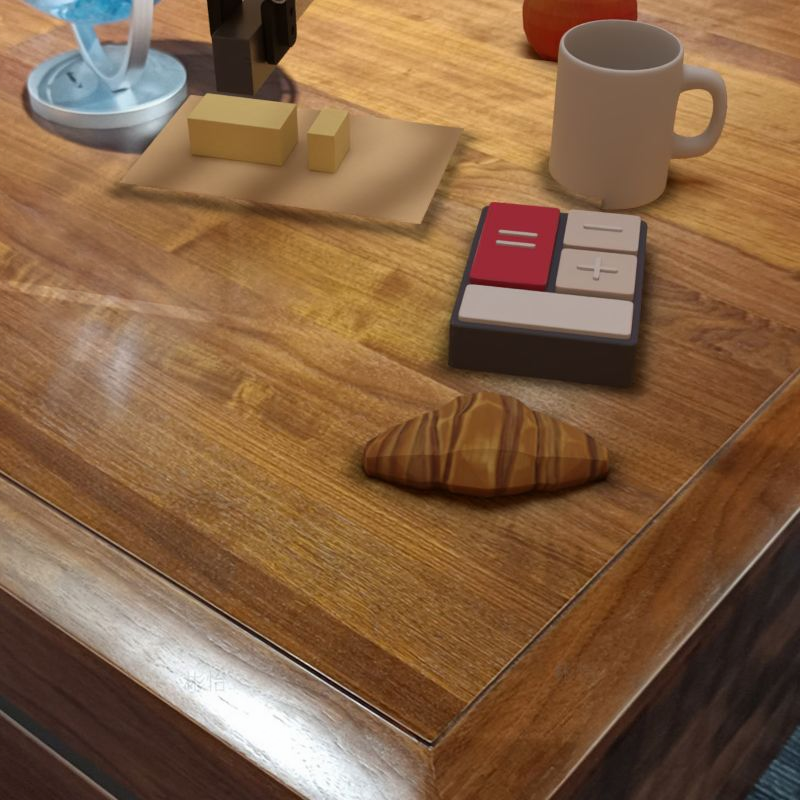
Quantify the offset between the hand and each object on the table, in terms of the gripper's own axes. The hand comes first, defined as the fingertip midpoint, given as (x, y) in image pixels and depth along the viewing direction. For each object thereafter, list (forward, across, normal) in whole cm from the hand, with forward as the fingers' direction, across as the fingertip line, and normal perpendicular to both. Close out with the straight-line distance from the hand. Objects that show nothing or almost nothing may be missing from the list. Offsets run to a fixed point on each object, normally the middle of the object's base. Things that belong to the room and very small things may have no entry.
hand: (255, 50), depth 84 cm
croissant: (+14, +19, -20) cm, 31 cm away
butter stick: (+12, -5, +9) cm, 16 cm away
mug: (+14, +23, +13) cm, 30 cm away
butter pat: (+12, +2, +9) cm, 15 cm away
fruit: (+14, +16, +33) cm, 39 cm away
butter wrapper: (+14, -1, +9) cm, 17 cm away
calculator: (+14, +20, -4) cm, 25 cm away
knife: (+1, 0, +5) cm, 5 cm away
